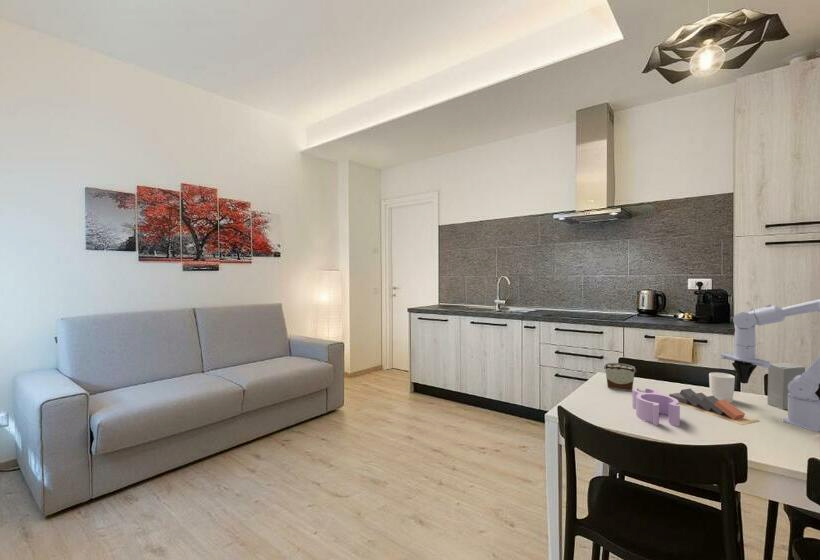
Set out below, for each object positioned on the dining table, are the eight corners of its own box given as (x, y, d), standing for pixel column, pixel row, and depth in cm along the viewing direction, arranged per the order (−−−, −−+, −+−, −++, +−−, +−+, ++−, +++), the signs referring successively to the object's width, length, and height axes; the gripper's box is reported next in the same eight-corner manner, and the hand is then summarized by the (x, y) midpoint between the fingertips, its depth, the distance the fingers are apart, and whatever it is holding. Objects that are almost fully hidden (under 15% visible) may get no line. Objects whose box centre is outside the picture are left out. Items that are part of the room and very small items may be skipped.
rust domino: (745, 414, 134) (725, 399, 140) (736, 415, 132) (716, 401, 138) (742, 417, 135) (723, 403, 140) (733, 419, 133) (714, 404, 139)
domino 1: (695, 398, 150) (677, 392, 156) (686, 399, 148) (669, 394, 155) (695, 402, 150) (677, 397, 157) (686, 404, 148) (669, 398, 155)
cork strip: (760, 422, 132) (760, 421, 132) (742, 425, 129) (742, 424, 129) (684, 398, 156) (684, 397, 156) (667, 400, 153) (667, 400, 153)
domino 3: (719, 406, 142) (701, 392, 148) (710, 407, 140) (692, 394, 146) (717, 409, 142) (699, 396, 148) (708, 411, 141) (690, 397, 147)
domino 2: (706, 402, 146) (690, 388, 152) (697, 403, 144) (681, 389, 150) (704, 405, 147) (687, 391, 153) (695, 407, 145) (679, 393, 151)
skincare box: (787, 403, 149) (787, 361, 148) (806, 410, 142) (807, 366, 141) (765, 403, 148) (765, 362, 148) (784, 410, 141) (784, 367, 141)
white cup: (725, 397, 156) (725, 372, 156) (739, 404, 149) (740, 378, 148) (704, 397, 157) (704, 372, 157) (717, 403, 149) (717, 377, 149)
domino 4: (731, 409, 138) (713, 395, 144) (722, 411, 136) (704, 397, 142) (729, 413, 139) (710, 399, 145) (720, 415, 137) (701, 400, 143)
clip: (623, 405, 150) (623, 387, 150) (658, 406, 148) (658, 388, 148) (647, 425, 131) (646, 405, 130) (688, 427, 129) (688, 406, 128)
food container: (636, 387, 171) (636, 364, 171) (636, 391, 166) (636, 367, 165) (605, 383, 177) (605, 361, 177) (603, 387, 172) (603, 364, 172)
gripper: (715, 342, 146) (714, 378, 146) (760, 350, 132) (759, 390, 133) (728, 340, 148) (727, 376, 149) (774, 348, 134) (773, 387, 135)
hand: (743, 382), depth 141 cm, fingers closed
